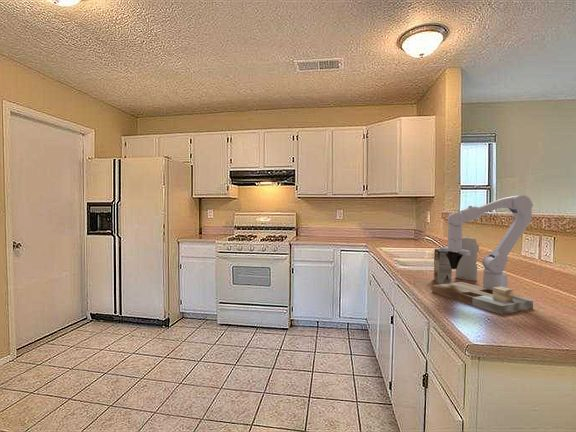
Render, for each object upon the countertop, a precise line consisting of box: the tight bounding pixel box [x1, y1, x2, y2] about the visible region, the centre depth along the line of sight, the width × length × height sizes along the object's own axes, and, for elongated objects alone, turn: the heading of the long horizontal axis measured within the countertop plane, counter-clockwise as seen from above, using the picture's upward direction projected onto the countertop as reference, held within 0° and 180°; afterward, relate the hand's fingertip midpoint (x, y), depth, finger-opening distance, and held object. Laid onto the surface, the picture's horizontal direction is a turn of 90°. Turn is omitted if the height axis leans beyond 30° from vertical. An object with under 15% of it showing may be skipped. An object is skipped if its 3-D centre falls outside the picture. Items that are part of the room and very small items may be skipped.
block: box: [493, 287, 514, 301], centre depth 117 cm, size 4×4×4 cm
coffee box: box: [433, 248, 453, 285], centre depth 155 cm, size 9×6×16 cm
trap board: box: [431, 281, 534, 315], centre depth 126 cm, size 18×30×3 cm, turn 23°
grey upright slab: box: [455, 236, 480, 282], centre depth 162 cm, size 11×4×22 cm, turn 51°
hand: (453, 268), depth 142 cm, fingers closed
